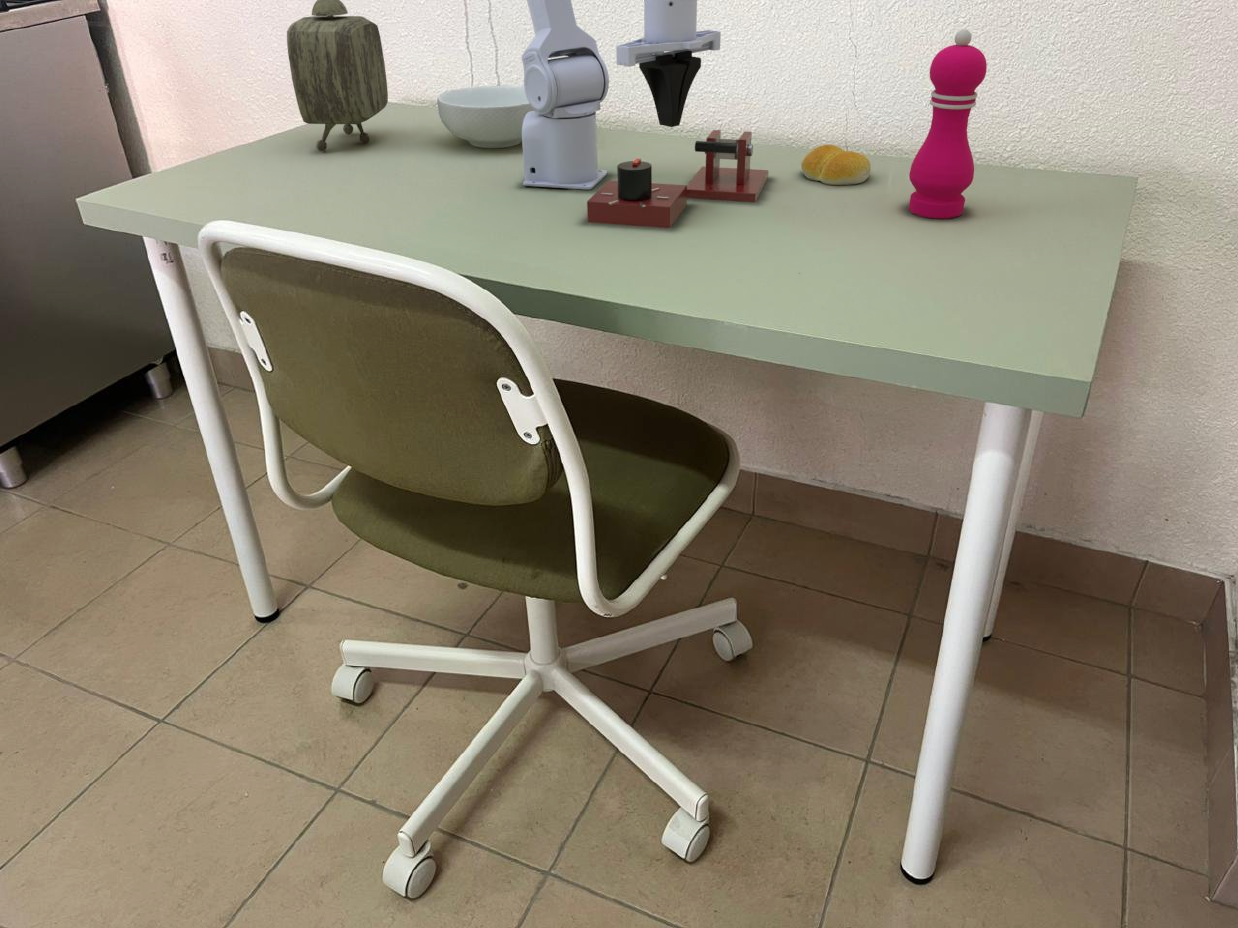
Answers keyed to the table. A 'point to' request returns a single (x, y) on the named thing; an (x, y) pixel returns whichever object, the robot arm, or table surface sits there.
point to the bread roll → (835, 166)
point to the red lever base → (728, 175)
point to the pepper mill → (948, 132)
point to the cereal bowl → (485, 114)
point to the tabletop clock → (337, 69)
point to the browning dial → (634, 180)
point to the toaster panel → (638, 206)
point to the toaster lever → (719, 148)
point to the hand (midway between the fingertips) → (669, 125)
